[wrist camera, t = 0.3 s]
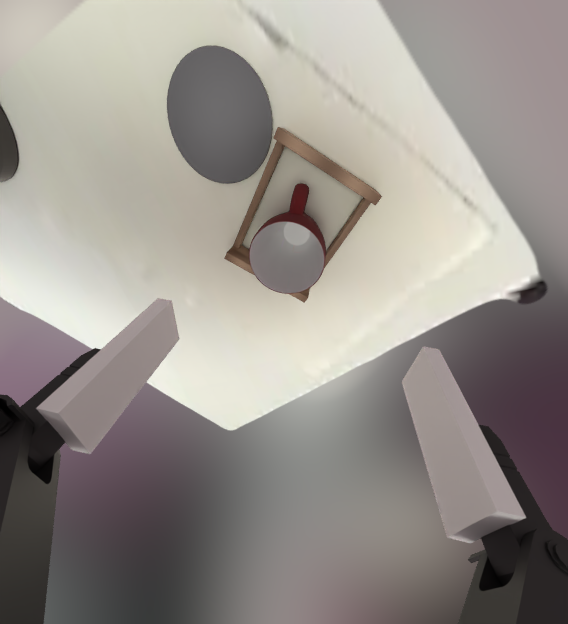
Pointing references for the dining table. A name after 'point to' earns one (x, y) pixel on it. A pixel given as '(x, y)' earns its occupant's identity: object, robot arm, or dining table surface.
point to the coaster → (219, 114)
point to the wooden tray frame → (285, 138)
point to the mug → (289, 249)
